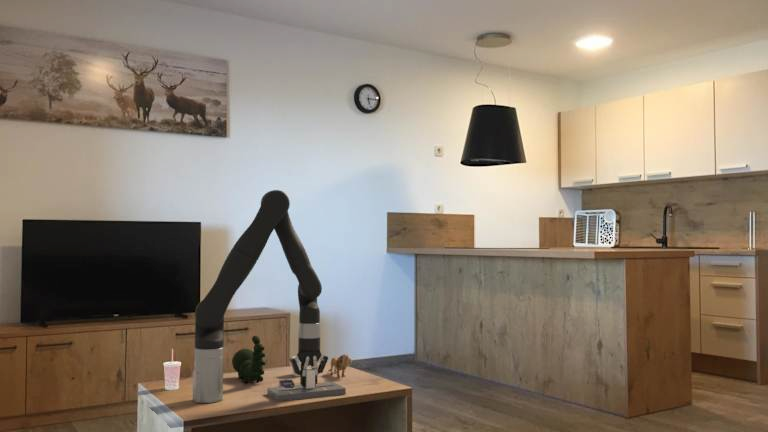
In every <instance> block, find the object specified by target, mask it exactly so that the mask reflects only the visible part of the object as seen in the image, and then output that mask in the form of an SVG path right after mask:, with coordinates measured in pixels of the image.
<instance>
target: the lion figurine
mask: <svg viewBox="0 0 768 432" xmlns="http://www.w3.org/2000/svg"><path fill="white" fill-rule="evenodd" d="M352 362H353V359H351V358H350V357H349V354H343V355H340V356H339V357H336V356H334V357H332V358H331V359H330V369H328V370H327V372H330V374H329V375H330V376H333V375H334V374H336V378H337V379H339V378H341V377H342V378H345V377H346V375H345V370H346V369H347V368H348V367H349V365H350V366H351V365H352ZM340 371H341V375H340Z"/></svg>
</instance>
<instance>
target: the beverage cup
mask: <svg viewBox="0 0 768 432" xmlns="http://www.w3.org/2000/svg"><path fill="white" fill-rule="evenodd" d="M181 366H182V362H181V361H174V348H171V361H166V362H165V361H164V362H163V367H164V369H163V371H164V389H165V390H167V391H168V390H169V391H173V390H178V389H180V376H181V375H180V374H181Z"/></svg>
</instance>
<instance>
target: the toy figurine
mask: <svg viewBox="0 0 768 432" xmlns="http://www.w3.org/2000/svg"><path fill="white" fill-rule="evenodd" d="M251 341H252V343H253V344H254V346H253V350H251V349H249V348H241V349H239V350H237V352H235V353H234V354H233V357H232V359H231V364H232V368H233V369H234V370H235V372H237V376H238V380H241V381H242V383H243V384H247V383H253V382H254V383H255V382H257V383H259V382H263V381H264V377H263V376H264V374H265V370H264V366H266V361H264V358H265V357H266V353H265V352H264V351H265V348H266V347H265V346H263V344H262V343H261V339H260V337H259V336H257V335H253V336H251ZM262 375H263V376H262Z"/></svg>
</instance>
